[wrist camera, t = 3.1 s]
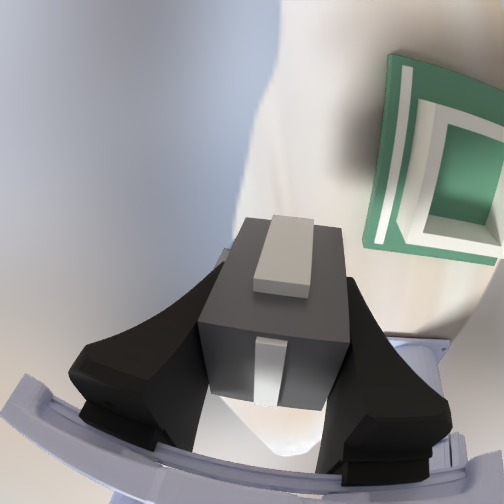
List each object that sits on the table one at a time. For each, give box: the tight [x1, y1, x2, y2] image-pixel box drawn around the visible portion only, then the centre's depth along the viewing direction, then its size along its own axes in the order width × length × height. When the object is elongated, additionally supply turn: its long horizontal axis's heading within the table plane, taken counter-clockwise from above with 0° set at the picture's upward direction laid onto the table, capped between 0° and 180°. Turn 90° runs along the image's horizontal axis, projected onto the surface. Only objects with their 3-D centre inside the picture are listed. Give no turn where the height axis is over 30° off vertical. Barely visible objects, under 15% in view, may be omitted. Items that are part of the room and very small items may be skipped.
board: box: [362, 54, 504, 266], centre depth 13 cm, size 12×11×4 cm
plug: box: [197, 215, 350, 411], centre depth 11 cm, size 4×4×6 cm
